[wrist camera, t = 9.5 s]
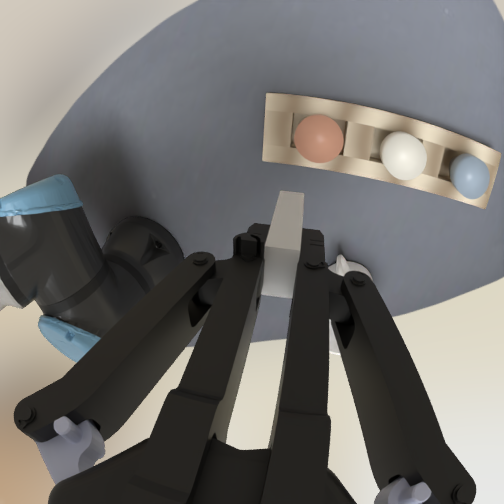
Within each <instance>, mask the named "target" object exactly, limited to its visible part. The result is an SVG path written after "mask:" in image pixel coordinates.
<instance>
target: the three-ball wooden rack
mask: <svg viewBox="0 0 504 504" xmlns="http://www.w3.org/2000/svg"><path fill="white" fill-rule="evenodd" d="M314 114H322V115H326V116H328V117H330V118H332V119H333V120H334V121H335V122H336V123H337V124H338V126H339V127H340V129H341V131H342V134H343V139H344V142H343V147H342V150H341V152H340V153H339V155H338V156H337V157H336V158H334V159H333V160H331V161H329V162H326V163H315V162H311V161H309V160H307V159H305V158H304V157H303V156H302V155H301V154H300V153H299V152H298V150H297V148H296V146H295V142H294V135H295V131H296V129H297V127H298V125H299V123H300V122H301V121H302V120H303V119H304V118H306V117H307V116H310V115H314ZM397 131H402V132H406V133H408V134H410V135H412V136H414V137H415V138H417V139H418V140H419V141H420V142H421V143H422V144H423V146H424V148H425V150H426V154H427V162H426V166H425V168H424V170H423V172H422V173H421V174H420V175H419V176H417V177H416V178H414V179H411V180H400V179H398V178H395V177H394V176H393V175H391V174H390V173H389V171H388V170H387V169H386V167H385V166H384V165H383V163H382V161H381V158H380V146H381V143H382V141H383V140H384V138H385V137H386V136H388V135H389V134H391V133H393V132H397ZM465 153H468V154H472V155H474V156H475V157H477V158H479V159H480V160H482V161H483V162H484V163H485V164H486V166H487V167H488V170H489V174H490V180H489V185H488V188H487V190H486V191H485V193H484V194H483V195H482V196H481V197H479V198H477V199H468V198H466V197H464V196H463V195H462V194H461V193H460V192H459V191H458V190H457V189H456V188H455V187H454V186H453V184H452V182H451V179H450V171H449V163H450V161H451V159H452V158H453V157H455V156H459V155H461V154H465ZM500 158H501V153H500V152H498V151H496V150H494V149H492V148H490V147H488V146H486V145H484V144H481V143H479V142H477V141H474V140H472V139H470V138H467V137H465V136H462V135H460V134H457V133H455V132H452V131H449V130H447V129H444V128H441V127H438V126H435V125H432V124H429V123H426V122H423V121H420V120H417V119H413V118H410V117H406V116H403V115H399V114H396V113H392V112H388V111H384V110H380V109H376V108H371V107H367V106H362V105H357V104H352V103H347V102H342V101H336V100H330V99H323V98H317V97H309V96H301V95H292V94H282V93H266V106H265V123H264V140H263V156H262V161H267V162H275V163H283V164H291V165H298V166H305V167H311V168H318V169H324V170H330V171H336V172H341V173H347V174H352V175H357V176H362V177H367V178H372V179H377V180H381V181H386V182H390V183H395V184H399V185H403V186H407V187H411V188H415V189H419V190H423V191H427V192H430V193H434V194H438V195H441V196H445V197H448V198H451V199H455V200H458V201H461V202H465V203H468V204H471V205H474V206H477V207H480V208H483V209H486V206H487V203H488V200H489V197H490V194H491V190H492V187H493V184H494V180H495V177H496V173H497V169H498V166H499V162H500Z"/></svg>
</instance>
